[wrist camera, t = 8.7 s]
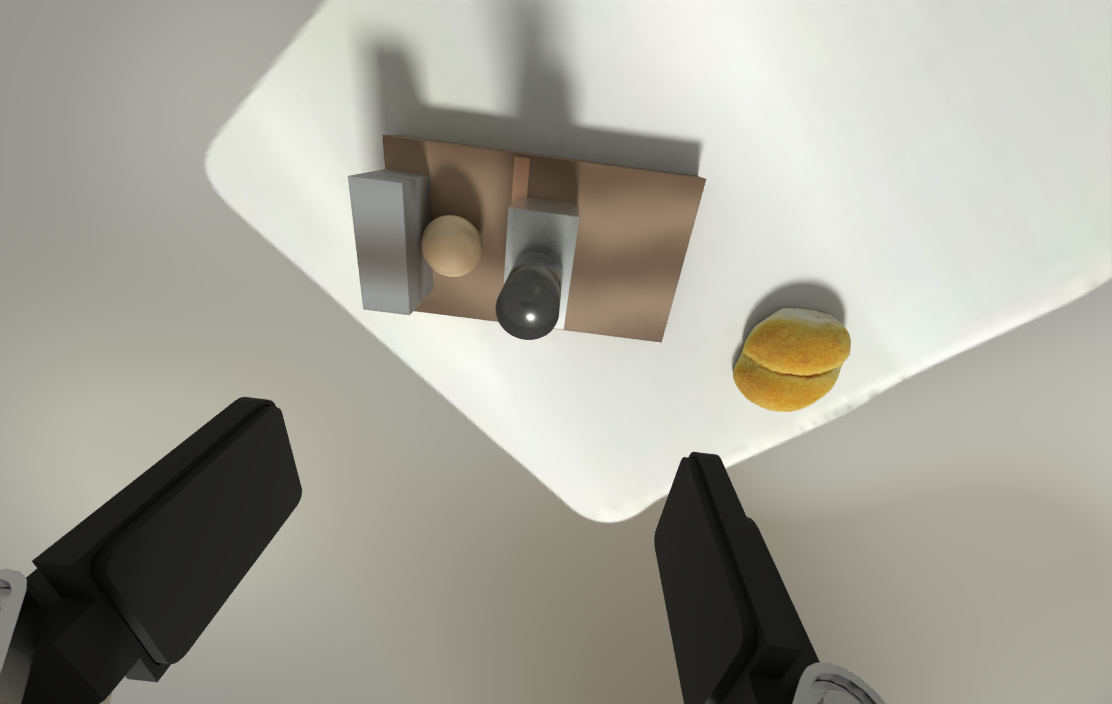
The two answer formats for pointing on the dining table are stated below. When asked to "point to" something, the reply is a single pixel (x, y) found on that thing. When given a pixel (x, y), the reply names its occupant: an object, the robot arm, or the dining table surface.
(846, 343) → the bread roll
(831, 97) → the dining table surface
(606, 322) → the base
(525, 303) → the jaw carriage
